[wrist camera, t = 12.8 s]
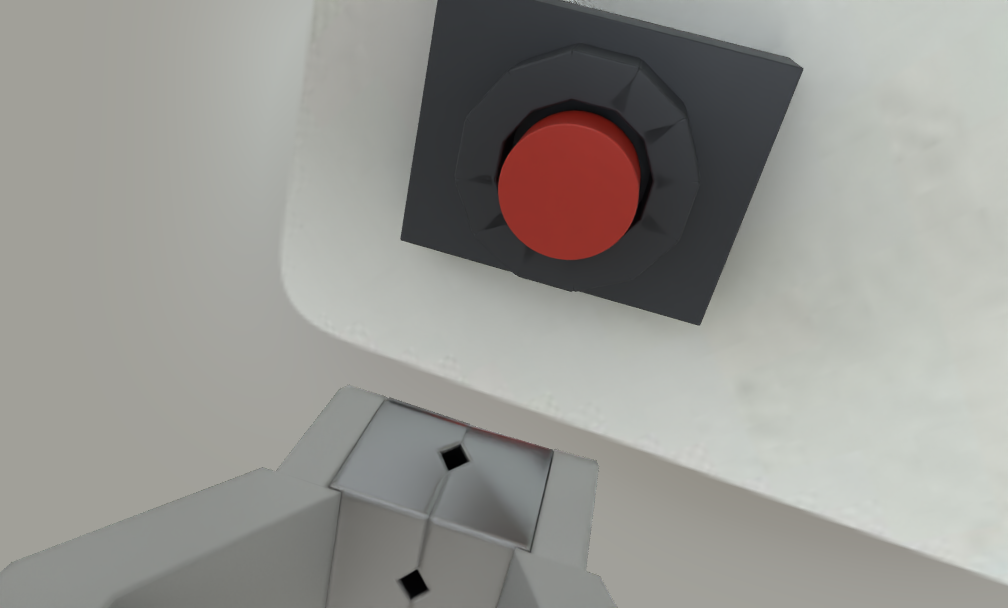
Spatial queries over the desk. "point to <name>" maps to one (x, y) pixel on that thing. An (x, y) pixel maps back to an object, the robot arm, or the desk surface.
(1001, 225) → the desk surface
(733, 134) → the grey button base
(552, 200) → the bell button
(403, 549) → the robot arm
